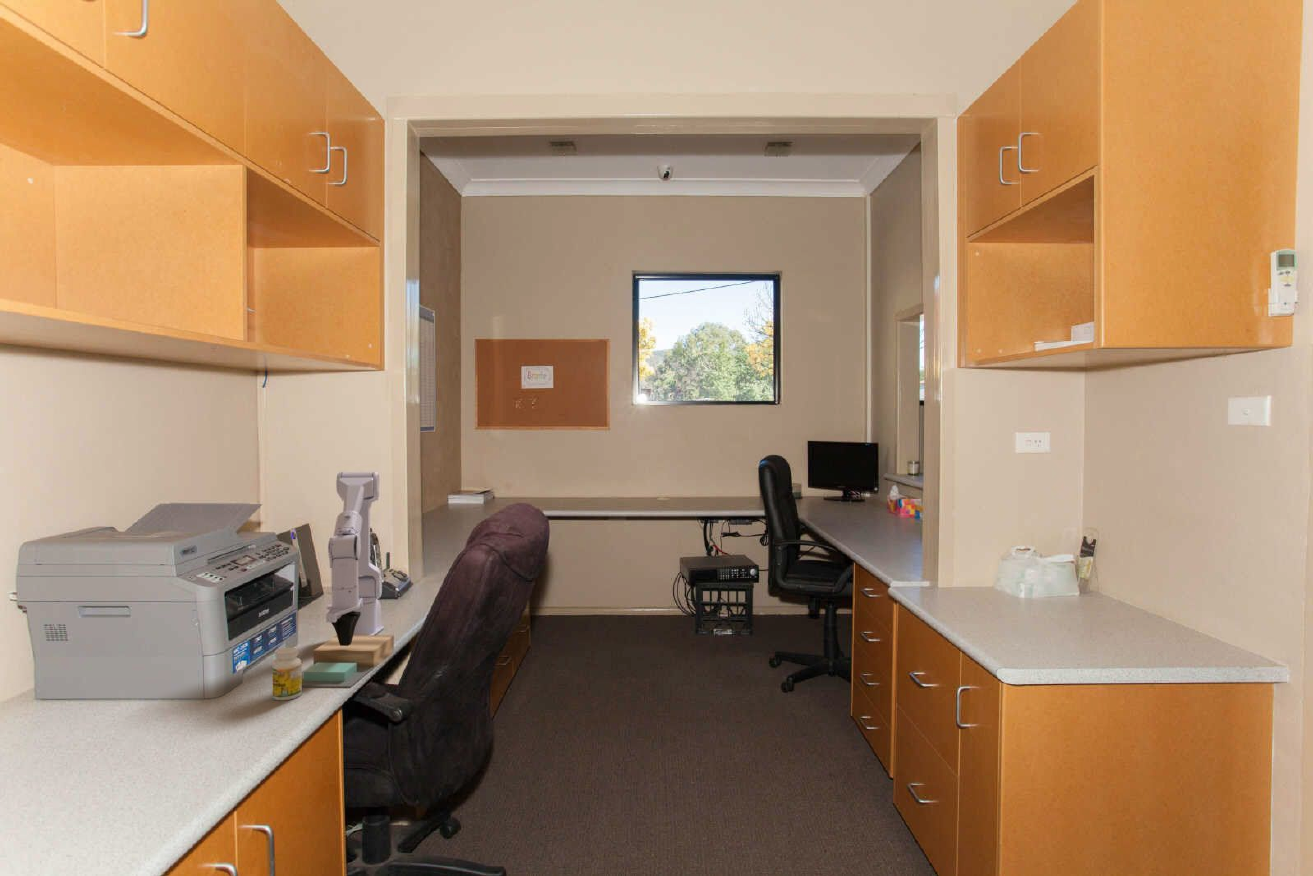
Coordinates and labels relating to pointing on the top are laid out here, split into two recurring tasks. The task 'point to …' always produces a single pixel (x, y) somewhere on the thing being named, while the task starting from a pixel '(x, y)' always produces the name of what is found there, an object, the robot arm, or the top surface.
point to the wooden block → (356, 650)
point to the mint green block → (330, 672)
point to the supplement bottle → (287, 674)
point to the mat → (339, 684)
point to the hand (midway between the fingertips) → (345, 645)
